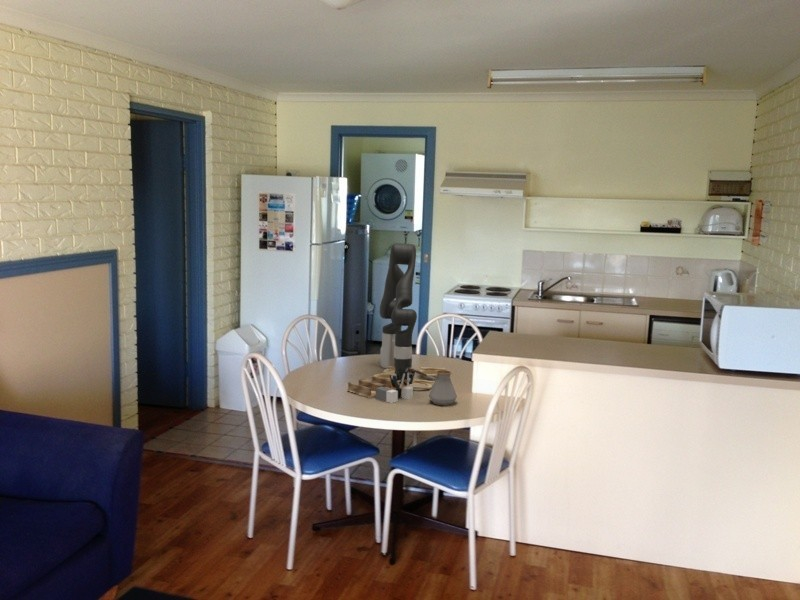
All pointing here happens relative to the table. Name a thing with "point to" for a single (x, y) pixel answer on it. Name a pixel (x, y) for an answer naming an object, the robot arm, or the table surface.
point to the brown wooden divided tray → (368, 386)
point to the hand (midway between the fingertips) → (402, 395)
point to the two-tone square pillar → (386, 394)
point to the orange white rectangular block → (405, 391)
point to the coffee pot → (440, 387)
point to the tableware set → (425, 370)
